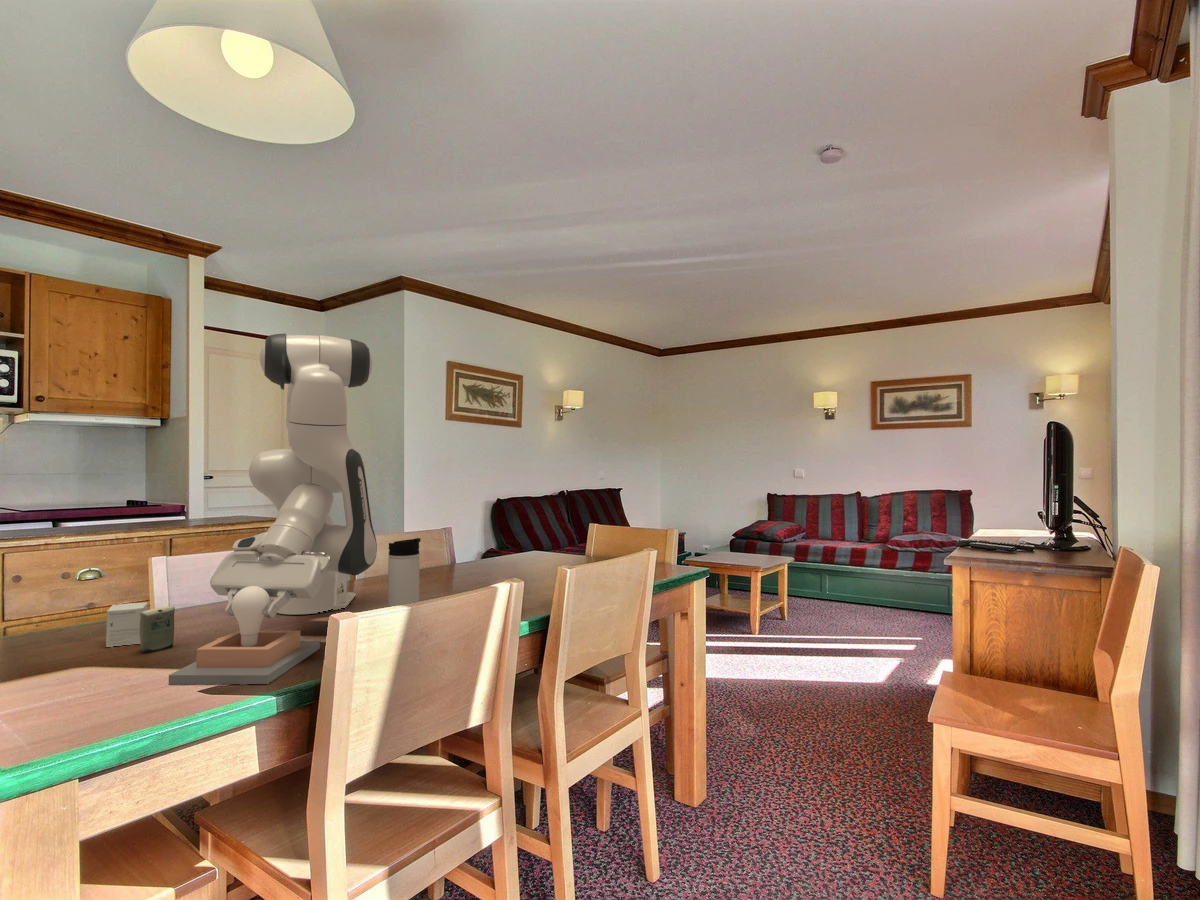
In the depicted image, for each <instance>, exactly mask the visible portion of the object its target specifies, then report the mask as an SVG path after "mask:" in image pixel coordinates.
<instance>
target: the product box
mask: <svg viewBox="0 0 1200 900" xmlns="http://www.w3.org/2000/svg"><path fill="white" fill-rule="evenodd" d="M146 610H149V602H148V601H147V602H130V603H129V602H128V603H118V604H112V605H111V606H110V607H109V609H107V610H106V624H105V625H106V627H105V628H106V629H105V631H106V633H105V648H106V647H111V648H114V647H113V646H121V645H131V644H141V643H140V635H139V628H140V618H141V616H140V613H141V612H143V611H146ZM131 646H132V645H131ZM121 647H122V646H121Z"/></svg>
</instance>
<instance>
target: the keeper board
mask: <svg viewBox="0 0 1200 900" xmlns="http://www.w3.org/2000/svg"><path fill="white" fill-rule="evenodd" d="M318 649H319V650H320V649H321V640H301V630H260V632H259V633H258V640H257V644H256V645H255V646H253V647H243V646H242V645H241V634H240V630H235V631H232V632H230V633H228V634H226V635H224V636H222V637H219V638H218V639H216V640H213V641H211V642H209V643H207V644H205V645H203V646H201V647H198V648H197V649H196V653H195V654H196V659H195V660H196V661H194V662H192V663H190V664H188V665H186V666H184V667H182V668H181V669H178V670H176V671H174V672H172V673H170V674H168V685H191V684H205V686H206V684H210V685H211V684H215V685H216V684H224V686H225V684H228V685H229V684H240V685H242V686H243V685H244V686H245V685H247V684H268V685H269V684H270V682H271V683H272V682H273V681H275V680H276V679H278V678H279V677H281V676H282V675H284V674H285V673H287V672H288V671H290V670H291V669H293V668H294V667H295V666H297V665H299V664H300V663H301V662H302V661H304V660H305V659H307V658H308V657H310V656H311V655H313V654H314V653H316V652H317V651H318ZM229 686H230V685H229Z"/></svg>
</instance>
